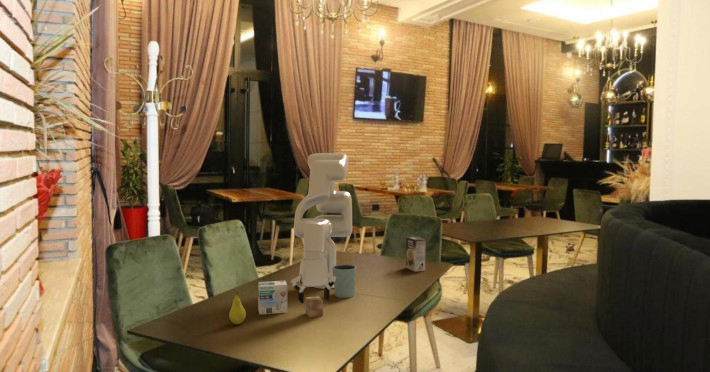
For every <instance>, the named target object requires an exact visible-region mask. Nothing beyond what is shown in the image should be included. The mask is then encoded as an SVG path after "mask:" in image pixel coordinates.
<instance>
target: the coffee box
mask: <svg viewBox="0 0 710 372" xmlns="http://www.w3.org/2000/svg"><path fill="white" fill-rule="evenodd" d="M405 238H406V240H405V242H406V243H405V246H406V248H405V259H406V260H405V268H406V269H407V270H410V271H413V272H423V271H424V272H425V271H426V246H427V245H426V244H427V243H426V241H427V240H426V239H425V238H423V237H419V236H406V237H405Z"/></svg>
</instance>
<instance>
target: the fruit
mask: <svg viewBox="0 0 710 372" xmlns="http://www.w3.org/2000/svg"><path fill="white" fill-rule="evenodd" d="M238 294H239V291H237V292H236V294H235V296H234V298H233V299H232V300H233V301H232V304H231V308H230V310H229V315H228V317H229V320H230V321H231V323H232V324H234V325H241V324H242V323H243V322H244V320H245V319H246V315H247V313H246V309H245V308H244V306H243V304H242V302H241V299H240V297H239V295H238Z"/></svg>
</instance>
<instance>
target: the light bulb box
mask: <svg viewBox="0 0 710 372" xmlns="http://www.w3.org/2000/svg"><path fill="white" fill-rule="evenodd" d="M257 292H258V293H257V296H258V297H257V299H258V300H257V303H258V304H257V306H258V308H257V310H258V313H259V315H270V314H271V315H272V314H286V313H288V284H287V281H286V280H274V281H273V280H272V281H259V282H258V283H257Z"/></svg>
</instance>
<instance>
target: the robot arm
mask: <svg viewBox="0 0 710 372" xmlns="http://www.w3.org/2000/svg"><path fill="white" fill-rule="evenodd" d="M349 162H350V161H349V156H348V155H347V154H346V153H339V152H337V153H336V152H333V153H332V152H331V153H330V152H329V153H328V152H317V153H315V152H314V153H312V154H310V155H308V157H307V164H308V167H309V170H310V171H309V181H308V182H309V183H308V193H307V194H306V196H304V197H303V199H301V201H300V202H299V203H298V205H297V206H296V209H295V213H294V220H293V221H294V222H293V232H294V236H296V237H297V238H300V239H303V258H301V259H300V265H299V275H297V276H296V277H294V278H292V279H291V280H290V283H291V285H292V287H293V288H294V289H295V290H296V291H297V300H298V302H299V303H300V304H304V302H305V301H304V300H305V298H304V297H305V296H304V290H305V289H306V288H311V287H312V288H316V289H323V300H325V301H328V302H329V299H330V295H331V293H330V292H331V291H330V290H331V289H334V282H335V280H336V277H335V276H333V270H332V267H333V266H335V265H337V246H336V243H335V242H334V241H333V239H332V238H335V237H338V238H345V237H349V236H351V234H352V232H353V199H352V195H351V193H350V192H348V191H346V190H336V186H335V185H336V183H335V182H336V181H338V182H340V181H341V182H342V181H344V180H345V179H346V177H347V174H348V171H349ZM315 206H316V207H315ZM313 207H315V208H316V210H317V211H318V212H320V213H329V214H320V215H316V216H315V217H313V218H310V217H309V218H308V217H307V218H303V216H304V214H305V212H307V210H309V209H311V208H313ZM330 213H334V214H335V213H340V214H341V215H339V214H337V215H336V214H335V215H333V214H330ZM297 282H299V285H298V284H297Z"/></svg>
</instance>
